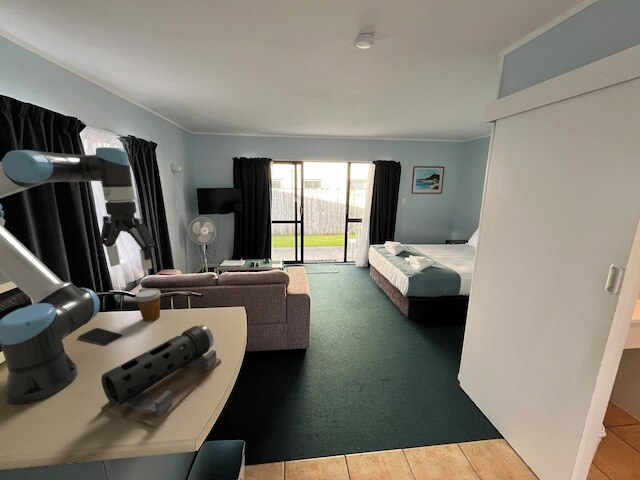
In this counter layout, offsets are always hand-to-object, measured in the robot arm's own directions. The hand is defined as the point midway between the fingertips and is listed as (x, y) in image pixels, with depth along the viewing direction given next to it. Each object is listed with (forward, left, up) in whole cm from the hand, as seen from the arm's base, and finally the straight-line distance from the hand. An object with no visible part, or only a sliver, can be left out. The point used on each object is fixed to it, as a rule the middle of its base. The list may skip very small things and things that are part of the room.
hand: (131, 267), depth 89 cm
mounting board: (+19, -9, -32) cm, 38 cm away
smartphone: (-25, +3, -32) cm, 41 cm away
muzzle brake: (+19, -9, -29) cm, 36 cm away
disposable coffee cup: (-19, +20, -32) cm, 42 cm away
